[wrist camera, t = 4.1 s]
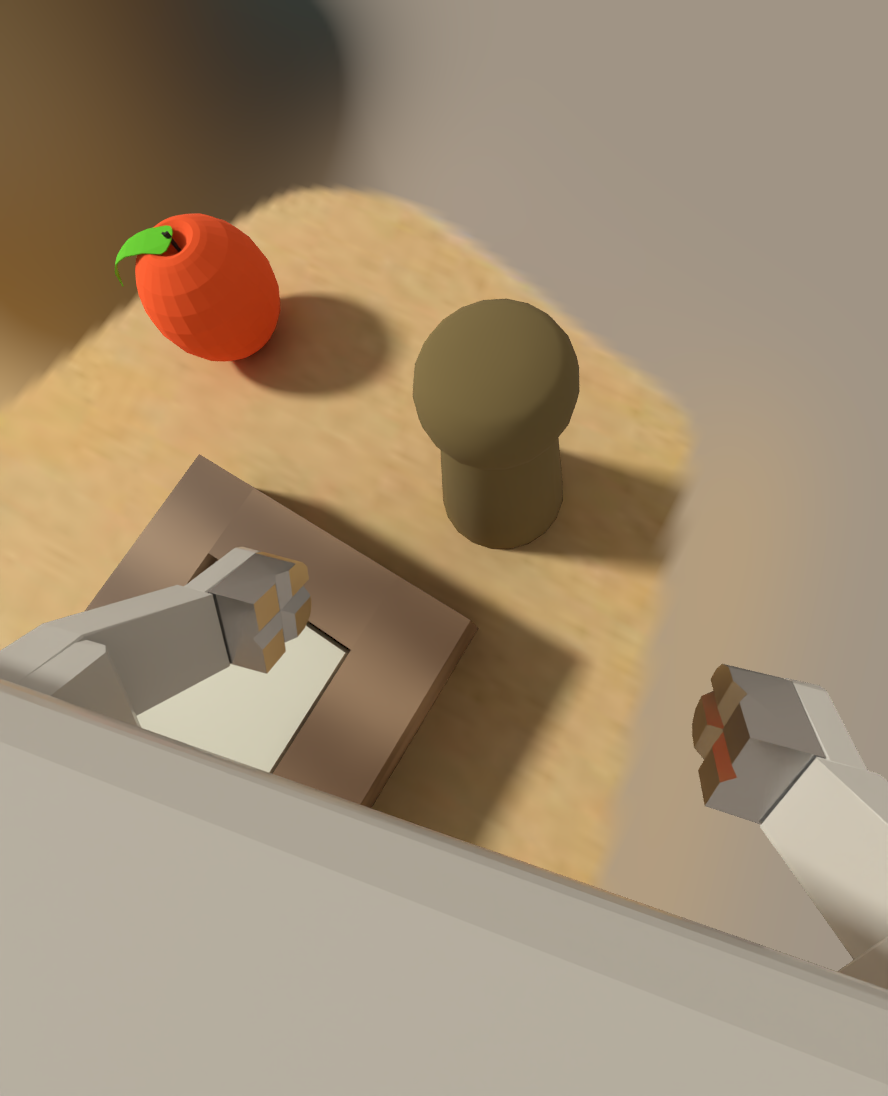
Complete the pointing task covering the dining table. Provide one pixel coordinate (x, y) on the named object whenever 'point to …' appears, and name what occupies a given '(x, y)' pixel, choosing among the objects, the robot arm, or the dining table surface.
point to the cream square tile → (252, 704)
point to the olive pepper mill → (498, 417)
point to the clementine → (205, 286)
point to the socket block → (337, 608)
